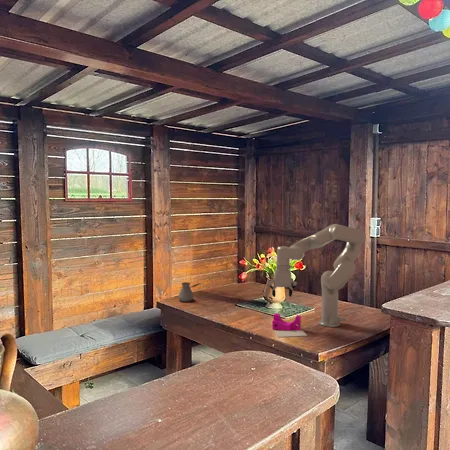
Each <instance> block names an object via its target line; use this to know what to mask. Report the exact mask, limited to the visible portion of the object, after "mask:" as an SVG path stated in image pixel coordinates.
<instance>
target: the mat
mask: <svg viewBox="0 0 450 450" xmlns="http://www.w3.org/2000/svg"><path fill="white" fill-rule="evenodd" d="M274 333H275V335H276V336H277V338H293V337H294V338H295V337H297V338H298V337H299V338H300V337H308V334H307V333H306V332H305V331H304V330H303V329H300V330H291V331H288V330H274Z"/></svg>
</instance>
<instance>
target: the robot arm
mask: <svg viewBox="0 0 450 450" xmlns="http://www.w3.org/2000/svg"><path fill="white" fill-rule="evenodd" d="M366 239H367V235H366V233H365V232H364V231H363V230H362V229H358V228H354V227H350V226H346V225H343V224H338V223H333V224H330V225H328V226H327V227H326V226H325V228H323V229H321V230H320V231H318V232H316V233H314V234H312V235H310V236H307V237H306V238H305V237H304V238H302V239H301V240H299V241H297V242H295V243H293V244H292V245H290V246H284V245H282V246H281V245H279V246H278V247H277V249H276V268H275V269H274V272H273V279H272V280H270V281H268V282H267V284H268V286H269V288H271V294H272V297H273V298H275V297H276V289H277V288H289V289H288V296H289V298H292V296H293V290H294V289H295V288H296V286H297V284H298V282H297V281H296V280H293V279H292V271H291V268H293V265H291V263H290V261H291V260H295V261H300V260H302V259H303V258H304V257H305V252H308V251H309V250H314V249H320V248H322V247H324V246H326V245H328V244H329V243H331V242H333V241H335V240H339V241H342V242H346V245H345V247H344V249H343V250H342V252H341V253H340V254H339V255H338V257H337V258H336V259H335V260H334V262H333V264H332V265H333V269H334V270H333V271H332V270H326V271H324V272H323V273H322V274H321V278H320V284H321V314H320V315H321V319H319V320H318V324H319V325H320V326H323V327H328V328H337V327H340V326H341V322H346V321H347V318H346V317H342V316H339V290H341V289H343V288H344V286H345V285H346V284H347V283H348V281H349V280H350V278H351V277H352V276H353V275H354V273H355V270H356V264H355V261H356V259H357V257H358V256H359V255H360V253H361V249H362V248H361V247H362V244H364V243H365V241H366ZM292 283H293V284H292ZM272 284H273V285H272Z"/></svg>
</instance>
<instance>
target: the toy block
mask: <svg viewBox="0 0 450 450" xmlns="http://www.w3.org/2000/svg"><path fill="white" fill-rule="evenodd" d="M272 316H273V317H272V318H273V320H272V323H271V324H272V325H271V326H272V327H271V329H272V330H277V331H291V330H302V329H301V328H302V326H301V325H302V324H301V323H302V322H301V320H302V319H301V318H302V316H301V315H299V314H298V315H296V316H295V319H294V320H293V321H289V322H288V321H285V320H283V318H282V317H281V315H280V313H274V314H273V315H272Z"/></svg>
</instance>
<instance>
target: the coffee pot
mask: <svg viewBox="0 0 450 450" xmlns="http://www.w3.org/2000/svg"><path fill="white" fill-rule="evenodd" d="M181 285H182V286H181V288H180V291H179V293H178V299H179V301H180V302H183V303H187V302H192V300H194V298H195V295H194V293H193V291H192V288H195V287H197V286H200V285H201V283H196V284H192V285H191V282H189V281H188V282H186V281H185V282H181ZM190 285H191V286H190Z"/></svg>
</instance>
